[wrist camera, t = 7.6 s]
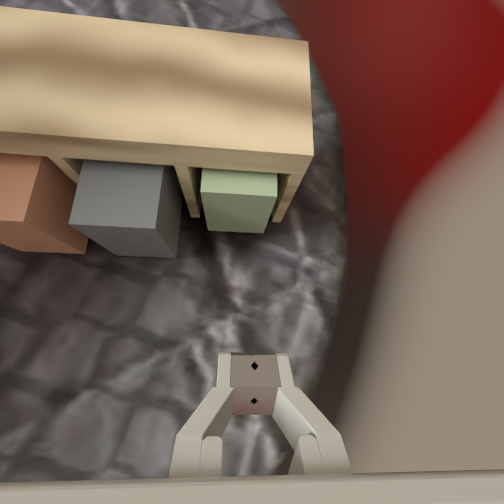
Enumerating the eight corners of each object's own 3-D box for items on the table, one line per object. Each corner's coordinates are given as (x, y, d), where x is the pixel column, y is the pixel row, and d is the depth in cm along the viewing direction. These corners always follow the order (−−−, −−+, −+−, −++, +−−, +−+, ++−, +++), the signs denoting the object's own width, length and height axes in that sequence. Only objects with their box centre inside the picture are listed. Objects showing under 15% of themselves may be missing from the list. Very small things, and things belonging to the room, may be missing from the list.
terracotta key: (85, 254, 22) (22, 221, 15) (21, 251, 22) (-71, 216, 15) (100, 180, 24) (51, 123, 17) (42, 176, 24) (-31, 116, 17)
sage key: (263, 233, 24) (277, 196, 17) (207, 230, 24) (200, 191, 17) (264, 166, 26) (276, 110, 19) (213, 163, 26) (207, 104, 19)
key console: (280, 222, 25) (313, 155, 15) (16, 207, 23) (-136, 120, 13) (279, 142, 27) (308, 41, 18) (41, 122, 25) (-71, -2, 16)
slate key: (176, 258, 23) (155, 228, 16) (116, 255, 22) (68, 224, 15) (184, 185, 25) (168, 132, 18) (128, 182, 24) (91, 126, 17)
